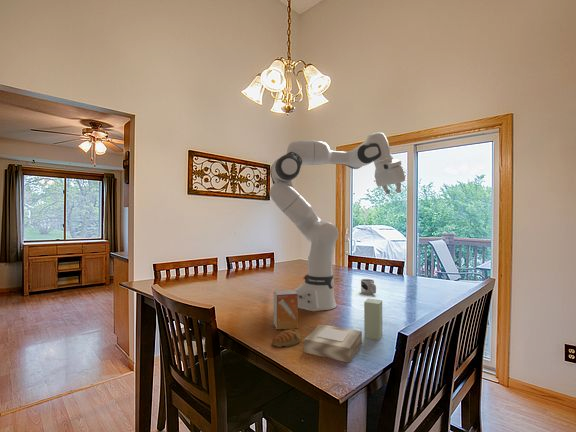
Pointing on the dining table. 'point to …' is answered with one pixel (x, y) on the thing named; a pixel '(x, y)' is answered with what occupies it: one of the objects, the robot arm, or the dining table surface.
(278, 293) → the small box
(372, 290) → the mug
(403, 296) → the dining table surface
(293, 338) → the pastry
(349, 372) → the dining table surface
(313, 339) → the base plinth
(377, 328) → the sage block
